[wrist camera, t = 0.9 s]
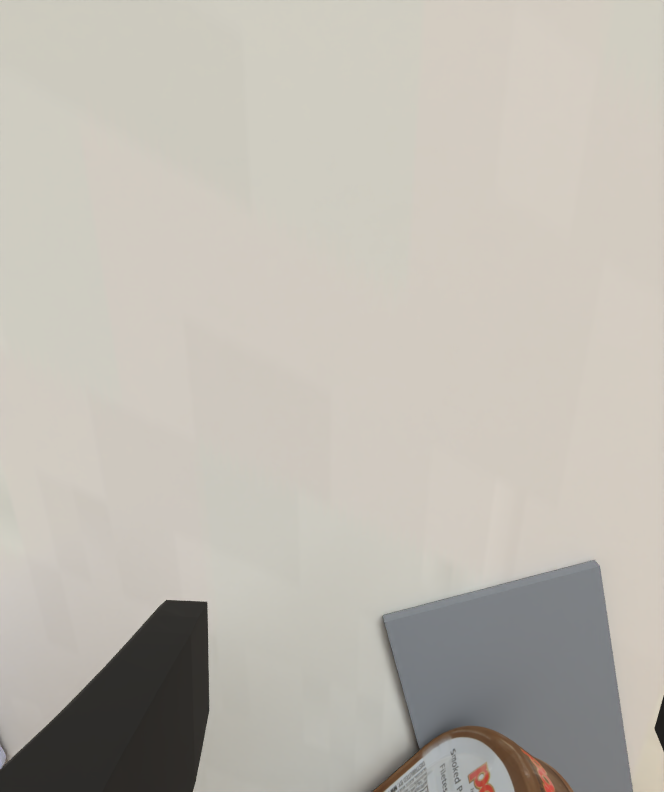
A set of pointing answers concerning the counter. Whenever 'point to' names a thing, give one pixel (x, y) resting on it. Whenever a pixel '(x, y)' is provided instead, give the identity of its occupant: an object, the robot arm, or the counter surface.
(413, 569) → the counter surface
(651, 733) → the counter surface
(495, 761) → the tin
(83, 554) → the counter surface
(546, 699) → the mat
